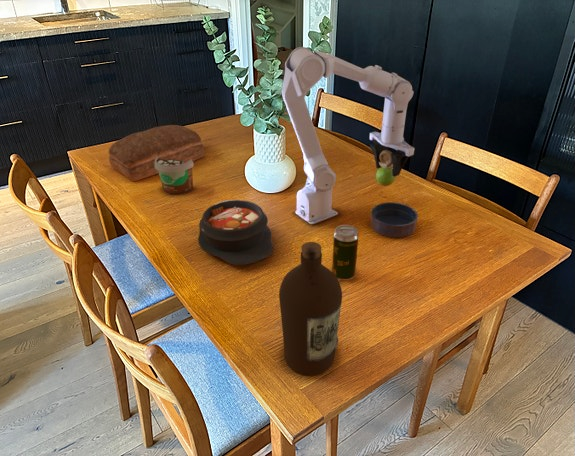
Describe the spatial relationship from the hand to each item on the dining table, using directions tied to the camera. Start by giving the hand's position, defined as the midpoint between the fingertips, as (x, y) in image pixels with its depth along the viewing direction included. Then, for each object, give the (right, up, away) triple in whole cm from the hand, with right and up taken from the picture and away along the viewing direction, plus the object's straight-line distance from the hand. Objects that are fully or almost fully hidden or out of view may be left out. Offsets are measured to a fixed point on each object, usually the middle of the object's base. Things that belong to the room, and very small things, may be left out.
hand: (387, 171), depth 127 cm
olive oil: (-24, -40, -42) cm, 62 cm away
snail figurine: (0, -4, +3) cm, 5 cm away
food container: (-63, -5, +14) cm, 64 cm away
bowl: (0, -15, -5) cm, 16 cm away
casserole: (-41, -20, -10) cm, 47 cm away
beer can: (-15, -27, -21) cm, 37 cm away
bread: (-72, +7, +32) cm, 79 cm away
